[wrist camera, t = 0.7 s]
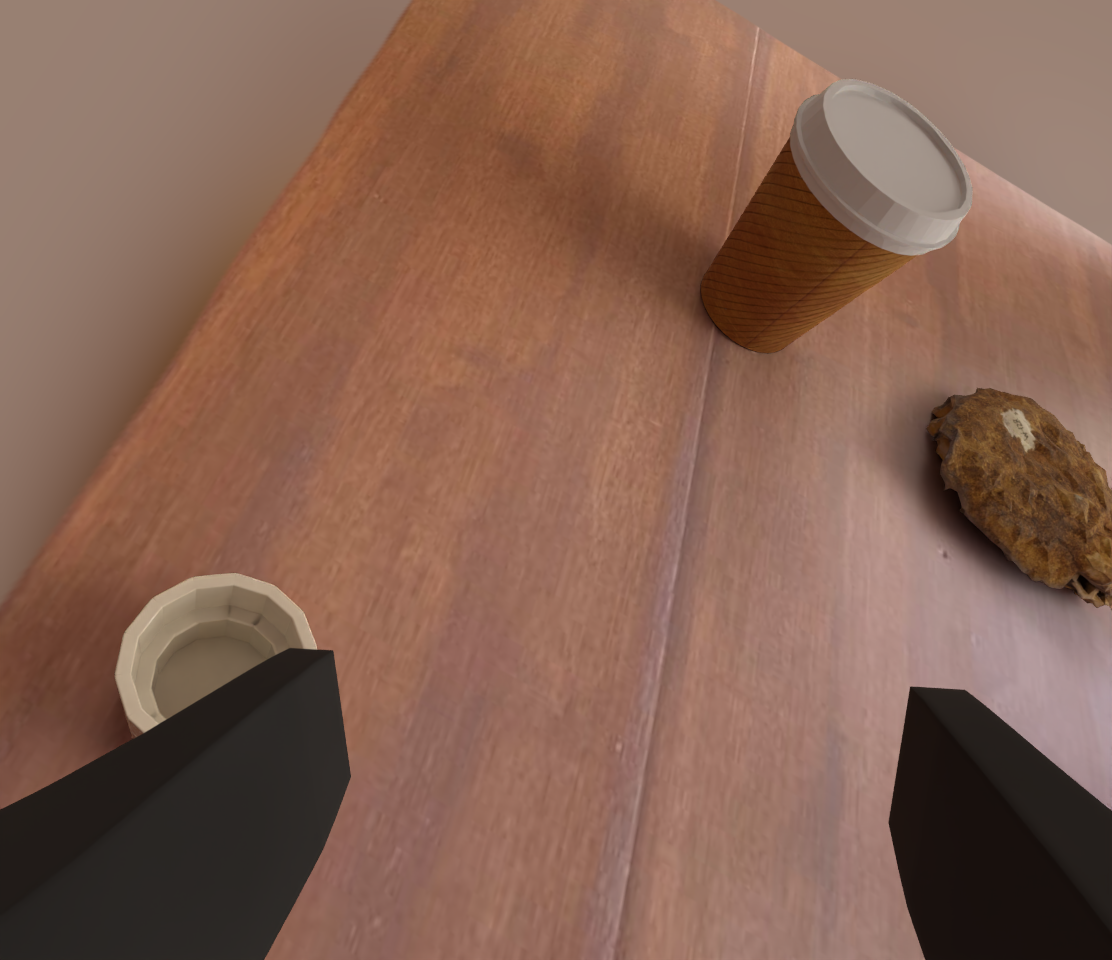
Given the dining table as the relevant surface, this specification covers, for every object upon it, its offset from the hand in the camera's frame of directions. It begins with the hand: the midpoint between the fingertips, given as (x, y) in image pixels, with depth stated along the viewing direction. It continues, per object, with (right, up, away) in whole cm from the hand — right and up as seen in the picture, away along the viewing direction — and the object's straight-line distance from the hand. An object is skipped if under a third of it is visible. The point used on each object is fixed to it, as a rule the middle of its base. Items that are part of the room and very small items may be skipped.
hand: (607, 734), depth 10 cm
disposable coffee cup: (+10, +13, +36) cm, 40 cm away
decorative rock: (+27, +1, +38) cm, 46 cm away
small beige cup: (-12, -4, +16) cm, 20 cm away
